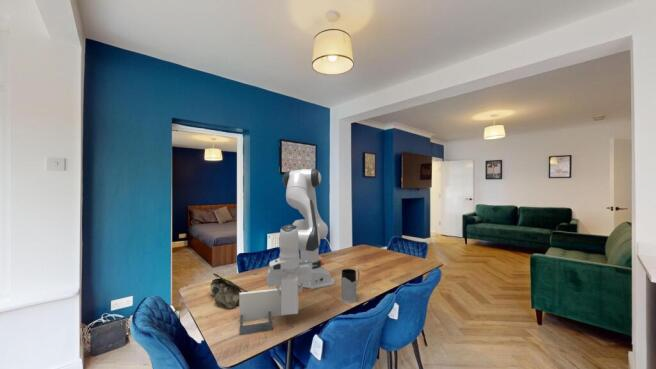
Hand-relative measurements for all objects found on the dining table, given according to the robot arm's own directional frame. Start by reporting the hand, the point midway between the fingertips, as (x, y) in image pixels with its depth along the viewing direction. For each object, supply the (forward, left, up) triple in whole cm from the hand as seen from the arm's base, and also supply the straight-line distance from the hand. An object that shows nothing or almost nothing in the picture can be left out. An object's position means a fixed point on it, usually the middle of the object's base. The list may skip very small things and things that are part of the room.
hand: (289, 293), depth 118 cm
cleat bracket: (+15, 0, -12) cm, 19 cm away
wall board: (+9, -7, -12) cm, 16 cm away
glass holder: (-35, -15, -12) cm, 40 cm away
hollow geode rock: (+28, -32, -13) cm, 45 cm away
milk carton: (0, 0, -8) cm, 8 cm away
